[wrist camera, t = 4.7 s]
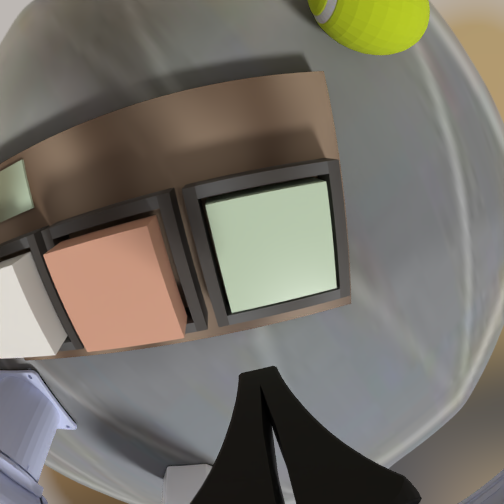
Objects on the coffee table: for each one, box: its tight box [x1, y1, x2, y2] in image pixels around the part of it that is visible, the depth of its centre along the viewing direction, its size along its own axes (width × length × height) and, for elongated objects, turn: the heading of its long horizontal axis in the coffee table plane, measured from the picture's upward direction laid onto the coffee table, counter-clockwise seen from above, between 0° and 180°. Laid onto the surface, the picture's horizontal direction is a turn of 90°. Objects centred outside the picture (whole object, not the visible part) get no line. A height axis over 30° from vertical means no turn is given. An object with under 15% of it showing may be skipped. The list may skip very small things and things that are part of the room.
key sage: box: [205, 177, 337, 313], centre depth 15 cm, size 6×6×2 cm
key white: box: [0, 251, 68, 359], centre depth 13 cm, size 6×6×2 cm
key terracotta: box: [43, 215, 187, 352], centre depth 13 cm, size 6×6×2 cm
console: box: [0, 71, 351, 360], centre depth 15 cm, size 25×14×3 cm, turn 100°
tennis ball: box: [308, 0, 430, 55], centre depth 10 cm, size 7×7×7 cm
